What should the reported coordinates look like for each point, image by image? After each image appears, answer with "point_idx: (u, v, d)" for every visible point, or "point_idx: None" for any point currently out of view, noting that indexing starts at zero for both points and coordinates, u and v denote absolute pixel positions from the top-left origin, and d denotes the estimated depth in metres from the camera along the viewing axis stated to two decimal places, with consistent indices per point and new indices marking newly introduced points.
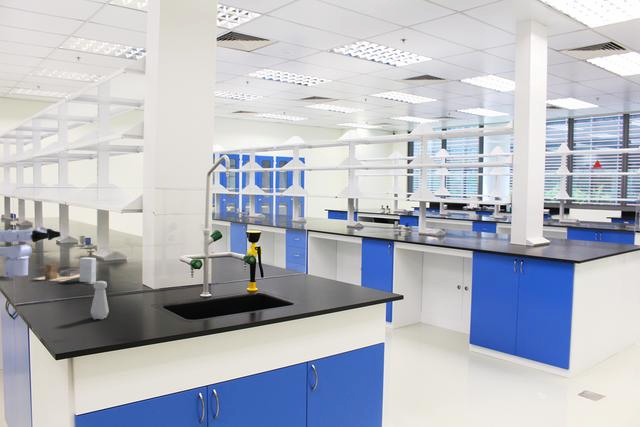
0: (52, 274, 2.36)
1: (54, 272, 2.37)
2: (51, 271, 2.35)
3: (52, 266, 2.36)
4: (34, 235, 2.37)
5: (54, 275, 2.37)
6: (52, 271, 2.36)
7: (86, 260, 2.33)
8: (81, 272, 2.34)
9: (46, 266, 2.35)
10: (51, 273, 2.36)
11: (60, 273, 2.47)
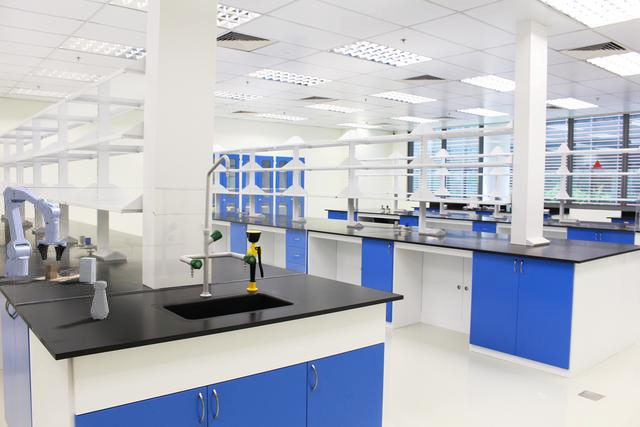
0: (52, 274, 2.36)
1: (54, 272, 2.37)
2: (51, 271, 2.35)
3: (52, 266, 2.36)
4: None
5: (54, 275, 2.37)
6: (52, 271, 2.36)
7: (86, 260, 2.33)
8: (81, 272, 2.34)
9: (46, 266, 2.35)
10: (51, 273, 2.36)
11: (60, 273, 2.47)
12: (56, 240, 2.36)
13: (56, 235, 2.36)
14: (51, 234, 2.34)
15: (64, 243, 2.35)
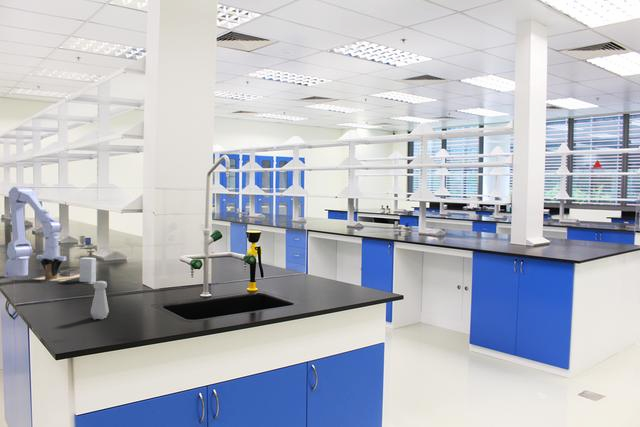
0: None
1: None
2: (51, 271, 2.35)
3: None
4: None
5: None
6: None
7: (86, 260, 2.33)
8: (81, 272, 2.34)
9: (46, 266, 2.35)
10: (51, 273, 2.36)
11: (60, 273, 2.47)
12: (56, 255, 2.36)
13: (56, 250, 2.36)
14: (51, 249, 2.34)
15: (64, 258, 2.35)
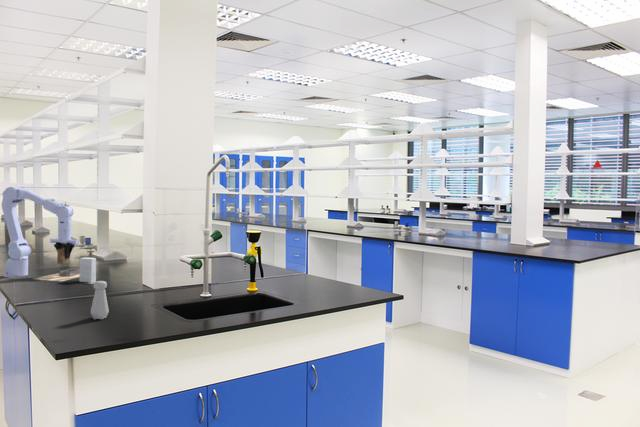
0: (64, 258, 2.44)
1: None
2: (63, 255, 2.43)
3: (64, 250, 2.43)
4: None
5: (66, 259, 2.45)
6: (64, 256, 2.43)
7: (86, 260, 2.33)
8: (81, 272, 2.34)
9: (58, 250, 2.43)
10: (64, 258, 2.43)
11: (60, 273, 2.47)
12: (68, 238, 2.44)
13: (68, 234, 2.44)
14: (64, 233, 2.42)
15: (76, 241, 2.43)
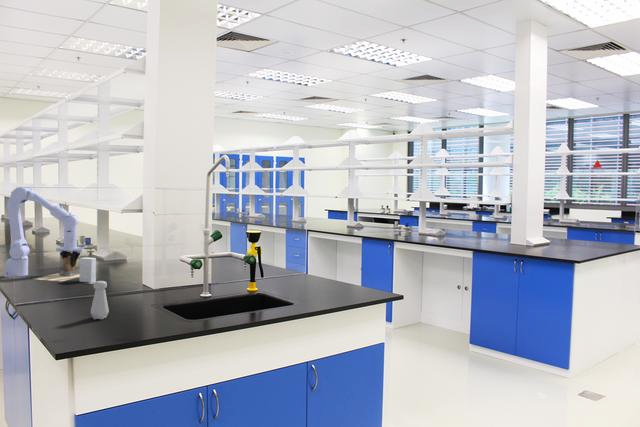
0: (70, 266, 2.48)
1: None
2: (69, 263, 2.47)
3: (70, 259, 2.48)
4: None
5: (72, 267, 2.49)
6: (70, 264, 2.48)
7: (86, 260, 2.33)
8: (81, 272, 2.34)
9: (64, 259, 2.47)
10: (69, 266, 2.48)
11: (60, 273, 2.47)
12: (74, 247, 2.49)
13: (74, 242, 2.49)
14: (70, 241, 2.47)
15: (82, 250, 2.48)
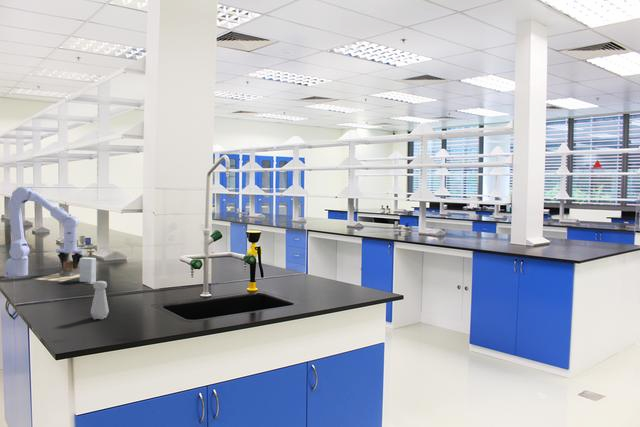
0: (70, 270, 2.48)
1: (72, 268, 2.49)
2: (69, 267, 2.47)
3: (70, 263, 2.48)
4: None
5: None
6: (70, 268, 2.48)
7: (86, 260, 2.33)
8: (81, 272, 2.34)
9: (64, 263, 2.47)
10: (69, 270, 2.48)
11: (60, 273, 2.47)
12: (74, 249, 2.49)
13: (74, 244, 2.49)
14: (70, 243, 2.47)
15: (82, 252, 2.48)
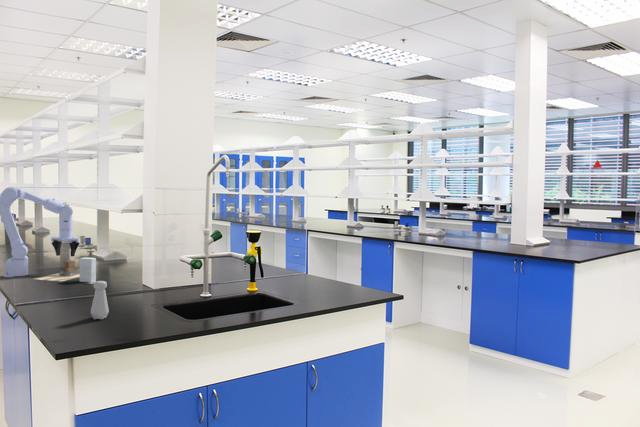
0: (70, 270, 2.48)
1: (72, 268, 2.49)
2: (69, 267, 2.47)
3: (70, 263, 2.48)
4: None
5: None
6: (70, 268, 2.48)
7: (86, 260, 2.33)
8: (81, 272, 2.34)
9: (64, 263, 2.47)
10: (69, 270, 2.48)
11: (60, 273, 2.47)
12: (70, 237, 2.53)
13: (70, 232, 2.53)
14: (66, 231, 2.51)
15: (78, 239, 2.52)
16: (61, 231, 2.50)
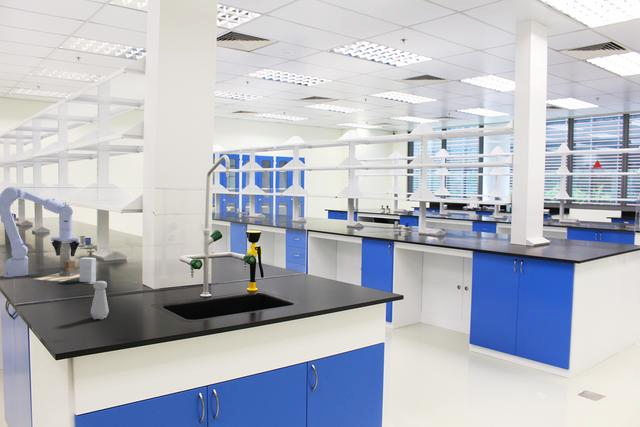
0: (70, 270, 2.48)
1: (72, 268, 2.49)
2: (69, 267, 2.47)
3: (70, 263, 2.48)
4: None
5: None
6: (70, 268, 2.48)
7: (86, 260, 2.33)
8: (81, 272, 2.34)
9: (64, 263, 2.47)
10: (69, 270, 2.48)
11: (60, 273, 2.47)
12: (70, 237, 2.53)
13: (70, 232, 2.53)
14: (66, 231, 2.51)
15: (78, 239, 2.52)
16: (61, 231, 2.50)
